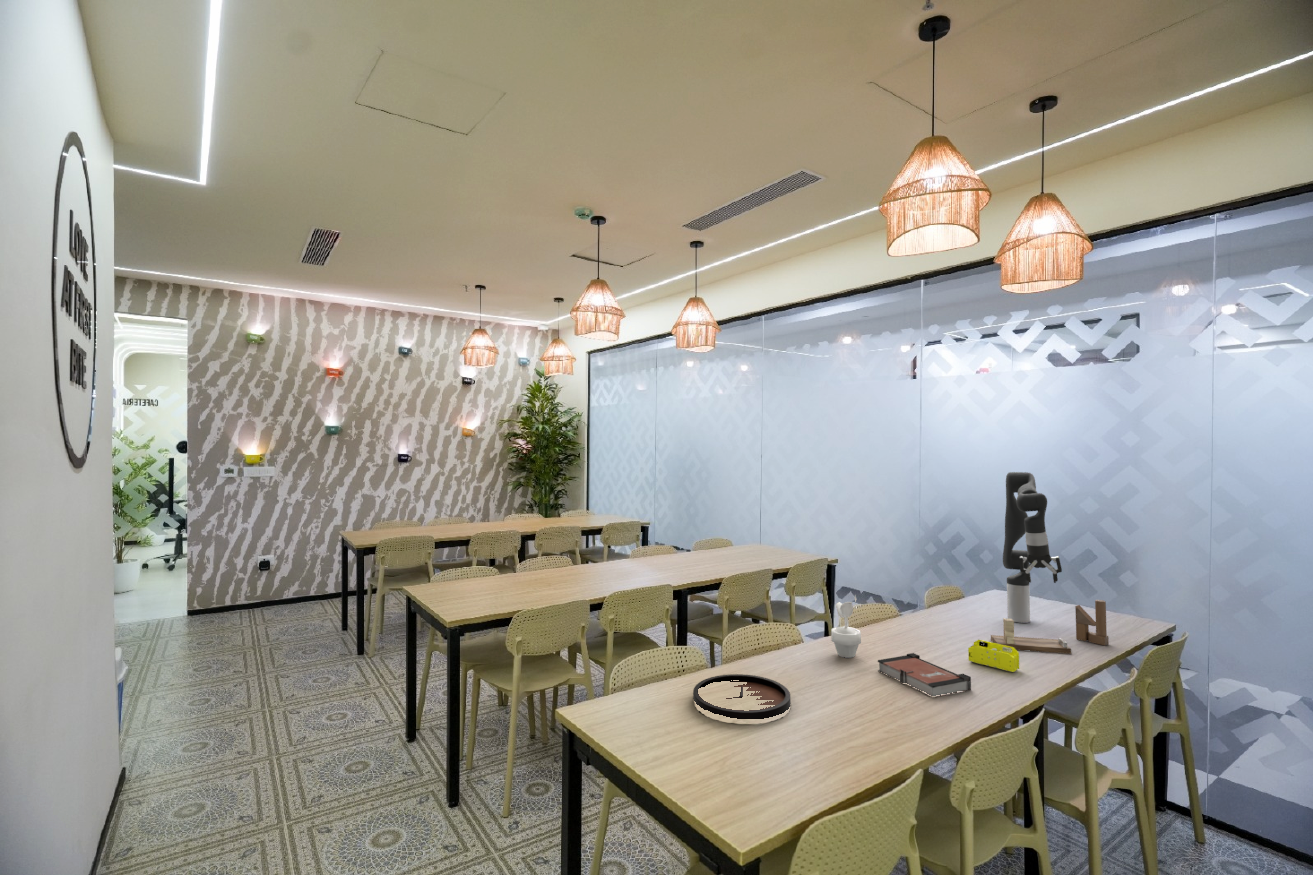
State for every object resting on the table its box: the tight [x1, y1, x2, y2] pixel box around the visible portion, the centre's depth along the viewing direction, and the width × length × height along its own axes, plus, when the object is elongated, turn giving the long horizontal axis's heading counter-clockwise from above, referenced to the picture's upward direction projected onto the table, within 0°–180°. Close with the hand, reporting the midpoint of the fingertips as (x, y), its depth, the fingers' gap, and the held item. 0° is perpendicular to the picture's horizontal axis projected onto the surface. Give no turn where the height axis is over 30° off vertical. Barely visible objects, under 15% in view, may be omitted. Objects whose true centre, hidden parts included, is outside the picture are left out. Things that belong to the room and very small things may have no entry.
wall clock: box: [692, 673, 792, 719], centre depth 198 cm, size 31×4×31 cm
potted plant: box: [830, 593, 862, 659], centre depth 243 cm, size 13×12×25 cm
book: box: [877, 652, 972, 697], centre depth 216 cm, size 26×18×5 cm
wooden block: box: [1074, 599, 1110, 646], centre depth 256 cm, size 4×11×18 cm, turn 33°
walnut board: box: [990, 634, 1072, 655], centre depth 251 cm, size 12×26×4 cm, turn 74°
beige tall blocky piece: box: [1002, 618, 1015, 644], centre depth 251 cm, size 7×3×9 cm, turn 164°
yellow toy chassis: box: [967, 639, 1020, 673], centre depth 228 cm, size 16×6×8 cm, turn 40°
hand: (1042, 582), depth 245 cm, fingers open, 8 cm apart
